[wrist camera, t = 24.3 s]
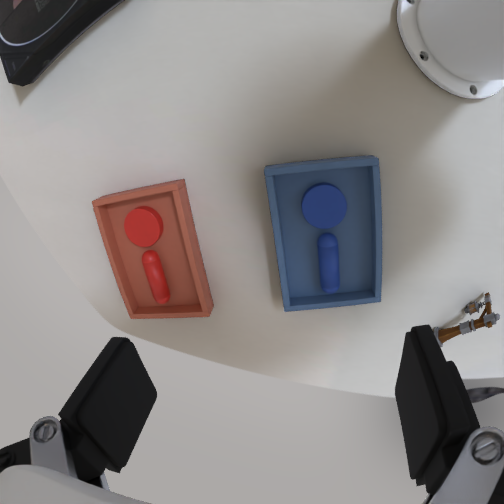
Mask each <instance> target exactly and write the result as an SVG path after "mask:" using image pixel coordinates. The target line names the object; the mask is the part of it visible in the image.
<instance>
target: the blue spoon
mask: <svg viewBox="0 0 504 504" xmlns="http://www.w3.org/2000/svg"><path fill="white" fill-rule="evenodd" d="M301 207H302V213H303V216H304V218H305V219H306V221H307V222H308V223H309V224H311V225H312V226H314V227H316V228H320V229H329V228H332V227H335V226H336V225H338V224H339V223H340V222H341V221H342V220H343V218H344V217H345V215H346V211H347V202H346V199H345V196H344V195H343V193H342V192H341V190H340V189H339V188H337V187H336V186H334V185H333V184H330V183H318V184H315V185H313V186H311V187H310V188H308V189H307V191H306V192H305V193H304V195H303V198H302V202H301ZM317 247H318V259H319V271H320V285H321V288H322V290H323V291H324V292H325V293H328V294H332V293H335V292H336V291H337V290H338V289H339V287H340V271H339V251H338V240H337V238H336V236H335V235H334V234H332V233H323V234H322V235H320V237H319V238H318V241H317Z"/></svg>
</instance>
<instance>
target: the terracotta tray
mask: <svg viewBox="0 0 504 504" xmlns="http://www.w3.org/2000/svg"><path fill="white" fill-rule="evenodd" d="M92 204H93V208H94V212H95V215H96V219H97V222H98V226H99V229H100V233H101V236H102V239H103V242H104V246H105V249H106V252H107V255H108V258H109V261H110V264H111V267H112V270H113V273H114V276H115V279H116V281H117V284H118V287H119V290H120V292H121V295H122V298H123V300H124V303H125V306H126V308H127V311H128V313H129V316H130V318H131V319H149V318H187V317H209V316H210V314H211V312H212V309H213V307H214V304H213V301H212V297H211V293H210V289H209V285H208V281H207V277H206V273H205V269H204V264H203V260H202V256H201V252H200V248H199V243H198V239H197V235H196V230H195V226H194V222H193V217H192V213H191V208H190V204H189V199H188V194H187V190H186V185H185V180H184V179H181V180H176V181H170V182H165V183H160V184H155V185H150V186H146V187H141V188H136V189H132V190H127V191H123V192H118V193H114V194H110V195H106V196H102V197H100V198H98V199H96V200H94V201H92ZM139 206H148V207H151V208H153V209H154V210H156V211H157V212H158V213H159V215H160V216H161V218H162V221H163V226H164V229H163V234H162V236H161V237H160V239H159V240H158V241H157V242H156V243H155V244H153V245H152V246H149V247H140V246H137V245H135V244H134V243H133V242H131V241H130V240H129V238H128V237H127V235H126V233H125V229H124V221H125V218H126V216H127V214H128V213H129V212H130V211H132V210H133V209H135V208H136V207H139ZM147 250H154V251H156V252H157V253H158V255H159V257H160V261H161V264H162V267H163V271H164V274H165V278H166V281H167V284H168V287H169V291H170V299H169V301H168V302H167V303H165V304H159V303H157V302H156V301H155V300H154V298H153V295H152V292H151V289H150V286H149V283H148V280H147V277H146V274H145V270H144V267H143V264H142V260H141V259H142V255H143V253H144V252H145V251H147Z"/></svg>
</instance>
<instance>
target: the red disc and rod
mask: <svg viewBox="0 0 504 504" xmlns="http://www.w3.org/2000/svg"><path fill="white" fill-rule="evenodd" d="M124 229H125V233H126V235H127V237H128V238H129V240H130V241H131V242H133V243H134V244H135V245H137V246H140V247H149V246H152V245H153V244H155V243H156V242H157V241H158V240H159V239H160V237H161V236H162V234H163V229H164V226H163V221H162V218H161V216H160V215H159V213H158V212H157V211H156V210H154V209H153V208H151V207H148V206H139V207H136V208H135V209H133V210H132V211H130V212H129V213H128V214H127V216H126V218H125V221H124ZM141 260H142V264H143V267H144V270H145V274H146V277H147V280H148V283H149V286H150V289H151V292H152V295H153V298H154V300H155V301H156V302H157V303H159V304H165V303H167V302H168V301H169V299H170V291H169V287H168V284H167V281H166V278H165V274H164V271H163V267H162V264H161V261H160V257H159V255H158V253H157V252H156V251H154V250H147V251H145V252H144V253H143V255H142V259H141Z"/></svg>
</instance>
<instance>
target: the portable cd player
mask: <svg viewBox="0 0 504 504" xmlns="http://www.w3.org/2000/svg"><path fill="white" fill-rule="evenodd" d="M123 1H124V0H0V57H1V60H2V63H3V67H4V70H5V73H6V76H7V79H8V82H9V83H12V84H16V85H20V86H24V85H27V84H30V83H33V82H34V81H35V80H36V79H37V78H38V77H39V76H40V74H41V73H42V72H43V71H44V70H45V69H46V68H47V67H48V66H49V65H50V64H51V63H52V62H53V61H54V60H55V59H56V58H57V57H58V56H59V55H60V54H61V53H62V52H63V51H64V50H65V49H66V48H67V47H68V46H69V45H70V44H71V43H73V42H74V41H75V40H76V39H77V38H78V37H79V36H80V35H81V34H83V33H84V32H85V31H86V30H87V29H88V28H90V27H91V26H92V25H93V24H94V23H95V22H97V21H98V20H99V19H100V18H102V17H103V16H104V15H105V14H107V13H108V12H109V11H111V10H112V9H113V8H115V7H116V6H117V5H119V4H120V3H121V2H123Z"/></svg>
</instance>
